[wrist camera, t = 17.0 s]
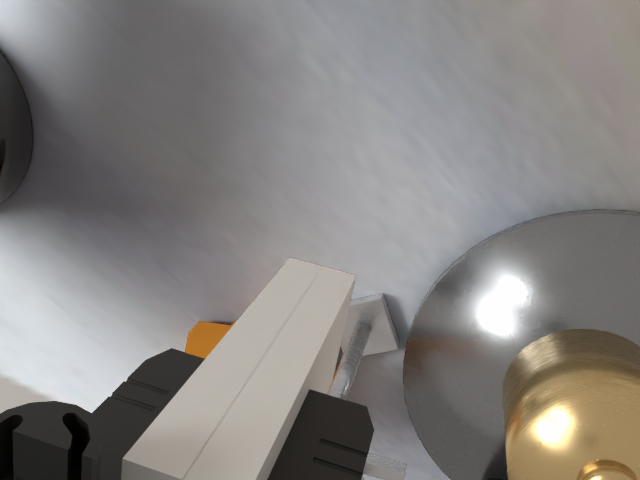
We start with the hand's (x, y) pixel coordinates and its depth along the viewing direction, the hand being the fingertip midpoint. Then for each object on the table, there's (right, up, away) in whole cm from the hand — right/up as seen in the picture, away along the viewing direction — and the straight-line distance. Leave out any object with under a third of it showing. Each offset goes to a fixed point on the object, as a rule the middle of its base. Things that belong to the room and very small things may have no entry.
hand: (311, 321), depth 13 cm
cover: (+17, -9, +25) cm, 32 cm away
